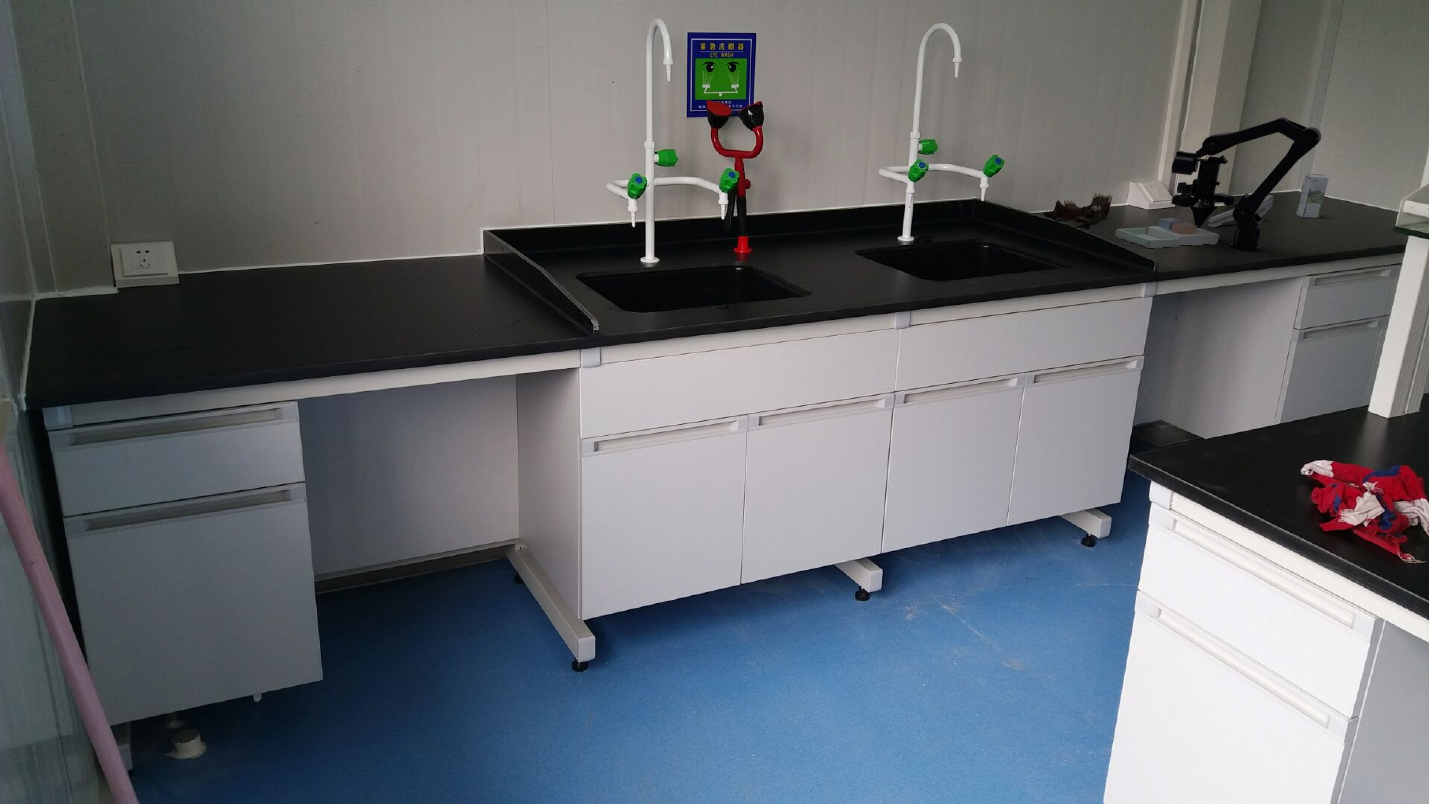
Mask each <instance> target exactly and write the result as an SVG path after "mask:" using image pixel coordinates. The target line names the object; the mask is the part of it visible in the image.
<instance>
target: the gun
mask: <svg viewBox="0 0 1429 804" xmlns="http://www.w3.org/2000/svg"><path fill="white" fill-rule="evenodd" d="M1273 201H1274V196H1273V195H1270V194H1269V195H1268V196H1267V197H1266V198H1265V200H1264V202H1263V203H1262V205H1261V207H1260V209H1259V210H1258V212H1257V213H1258V214H1259V216H1260V217H1261V218H1262V217H1263V216H1264V215H1265V214H1267V212H1268V211H1269V210H1270V209H1271V208H1273V203H1274V202H1273ZM1235 208H1236V207H1233V208H1231V210H1230V209H1229V210H1227V211H1225V212H1222V213H1219V214H1217V215H1214V216H1211V217H1210V218H1209V219H1208V221H1207V222H1208V223H1207V226H1208V227H1209V228H1212V229H1213V227H1214V228H1216V227H1219V226H1221V225H1223V223H1226V222H1231V221H1235V220H1234V218H1233V210H1234V209H1235Z"/></svg>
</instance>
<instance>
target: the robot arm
mask: <svg viewBox="0 0 1429 804" xmlns="http://www.w3.org/2000/svg"><path fill="white" fill-rule="evenodd" d="M1276 133H1280V134H1281V135H1282V136H1285V137H1286V138H1287V139H1289V140H1292V141H1293V142H1292V144H1291V146H1290V148H1289V149H1288V151H1287V153H1286V154H1285V155H1284V157H1283V158H1282V159H1281V160H1280V161H1279V163H1278V164H1277V165H1276V166H1275V167H1274V168H1273V169H1272V171H1271V172H1270V173H1269V174H1268V175H1267V176H1266V178H1264V180H1263V181H1262V182H1261V184H1260V185H1259V186H1258V187H1257V188H1256V189H1255V190H1254V191H1253V193H1251V194H1249V193H1248V192H1245V194H1243V195H1242V196H1241V197H1240V199H1239V200H1238V202H1237V203H1235V198H1234V196H1233V195H1231V194H1228V193H1227V194H1226V193H1224V192H1221V193H1218V192H1217V193H1216V188H1217V186H1220V184H1221V182H1220V181H1218V179H1219V174H1220V173H1219V172H1220V170H1221V169H1220V168H1221V165H1226V164H1228V163H1229V160H1228V159H1227V158H1226V157H1225V156H1226V155H1224V154H1223V155H1221V156H1220V157H1219V156H1215V155H1218V154H1220V153H1222V152H1225V151H1227V150H1228V149H1231V148H1232V147H1235V146H1236V145H1239V144H1244V143H1246V142H1249V141H1250V142H1251V141H1252V140H1253V141H1254V140H1256V139H1260V138H1264V137H1266V136H1270V135H1273V134H1276ZM1321 140H1322V132H1321V130H1319V129H1318V128H1317V127H1313V126H1309V127H1307V126H1304V125H1302V124H1300V123H1297V122H1295V121H1292V120H1290V119H1288V118H1287V117H1284V116H1282V117H1281V116H1280V117H1278V118H1277V119H1273V120H1270V121H1268V122H1264V123H1261V124H1257V125H1253V126H1250V127H1247V128H1245V129H1241V130H1237V131H1232V132H1231V131H1230V132H1223V133H1215V134H1211V135H1210V136H1208V137H1206V138H1205V139H1203V141H1202V143H1201V147H1200V148H1199V149H1198V150H1196V151H1195V152H1187V151H1183V150H1178V151H1176V154H1175V156H1174V159H1173V162H1172V164H1171V174H1176V175H1177V174H1178V175H1185V176H1192V175H1193V173H1197V175H1196V178H1194V179H1193V180H1192V183H1191V184H1187V182H1186V181H1183V182H1181V181H1180V182H1178V183H1177V187H1176V193H1177V194H1174V195H1173V197H1171V205H1175V206H1179V207H1181V208H1190V211H1191V212H1192V215H1193V221H1194V225H1197V228H1200V229H1201V228H1202V226H1203V225H1204V223H1205V222H1206V221H1207V220H1208V218H1209V217H1210V216H1211V214H1213V212H1214V211H1215V210H1216V209H1218V207H1219V206H1217V205H1216V203H1221V204H1222V203H1223V205H1224V206H1225V207H1226V206H1233V209H1234V208H1235V209H1234V210H1233V218H1234V220H1233V221H1235V222H1236V223H1237V224H1236V225H1237V226H1236V230H1235V231H1234V232H1235V233H1234V236H1233V241H1232V243H1229V244H1228V245H1230V246H1229V247H1232V246H1233V247H1232V248H1235V247H1236V249H1239V248H1241V249H1240V250H1242V249H1244V250H1243V251H1251V250H1250V249H1257V250H1262V247H1260V246H1258V245H1259V240H1260V235H1261V231H1262V230H1261V229H1260V228H1259V227H1260V226H1261V224H1262V223H1263V221H1264V219H1263V218H1262V217H1260V216H1259V214H1258V213H1259V211H1258V210H1259V209H1260V207H1261V205H1262V203H1263V202H1264V200H1265V198H1266V197H1267V196H1268V195H1270V194H1271V192H1272V191H1273V190H1275V188H1276V187H1277V185H1278V184H1279V183H1280V182H1281V181H1282V180H1283V179H1284V177H1285V176H1287V174H1288V173H1289V172H1290V171H1291V170H1292V168H1293V167H1294V166H1295V165H1296V164H1297V163H1298V161H1299V160H1300V159H1302V158H1303V157H1304V156H1305V155H1306V154H1308V153H1309V152H1310V151H1311V150H1313V149H1314V148H1315V147H1316V146H1317V145H1319V143H1320V142H1321ZM1206 156H1208V158H1203V157H1206ZM1246 249H1247V250H1246ZM1248 249H1249V250H1248Z"/></svg>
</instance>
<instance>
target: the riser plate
mask: <svg viewBox="0 0 1429 804" xmlns="http://www.w3.org/2000/svg"><path fill="white" fill-rule="evenodd" d="M1146 234H1147V235H1150V236H1153V237H1156V238H1159V239H1176V238H1178V239H1179V244H1178V245H1179V246H1178V247H1181V246H1180V245H1192V246H1204V245H1203V244H1210V245H1217V244H1218V241H1219V237H1220V234H1219V233H1216V232H1212V231H1210V230H1206V229H1203V228H1201V227H1200V228H1197V231H1196V234H1180V233H1177V232H1174V231H1171V230H1168V229H1165V228H1161V227H1159V225H1154V226H1153V225H1152V226H1148V227H1147V230H1146ZM1216 243H1217V244H1216Z"/></svg>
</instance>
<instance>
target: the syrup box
mask: <svg viewBox="0 0 1429 804" xmlns="http://www.w3.org/2000/svg"><path fill="white" fill-rule="evenodd" d="M1329 178H1330V177H1328V176H1327V175H1326V174H1323V173H1322V174H1321V173H1320V174H1319V173H1305V174H1304V179H1303V183H1302V186H1301V191H1300V195H1299V200H1298V203H1297V207H1296V213H1295V214H1296V216H1298V217H1300V218H1305V219H1319V218H1320V215H1321V212H1322V207H1323V204H1324V198H1325V194H1326V191H1327V188H1328V183H1329V180H1330V179H1329Z"/></svg>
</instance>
